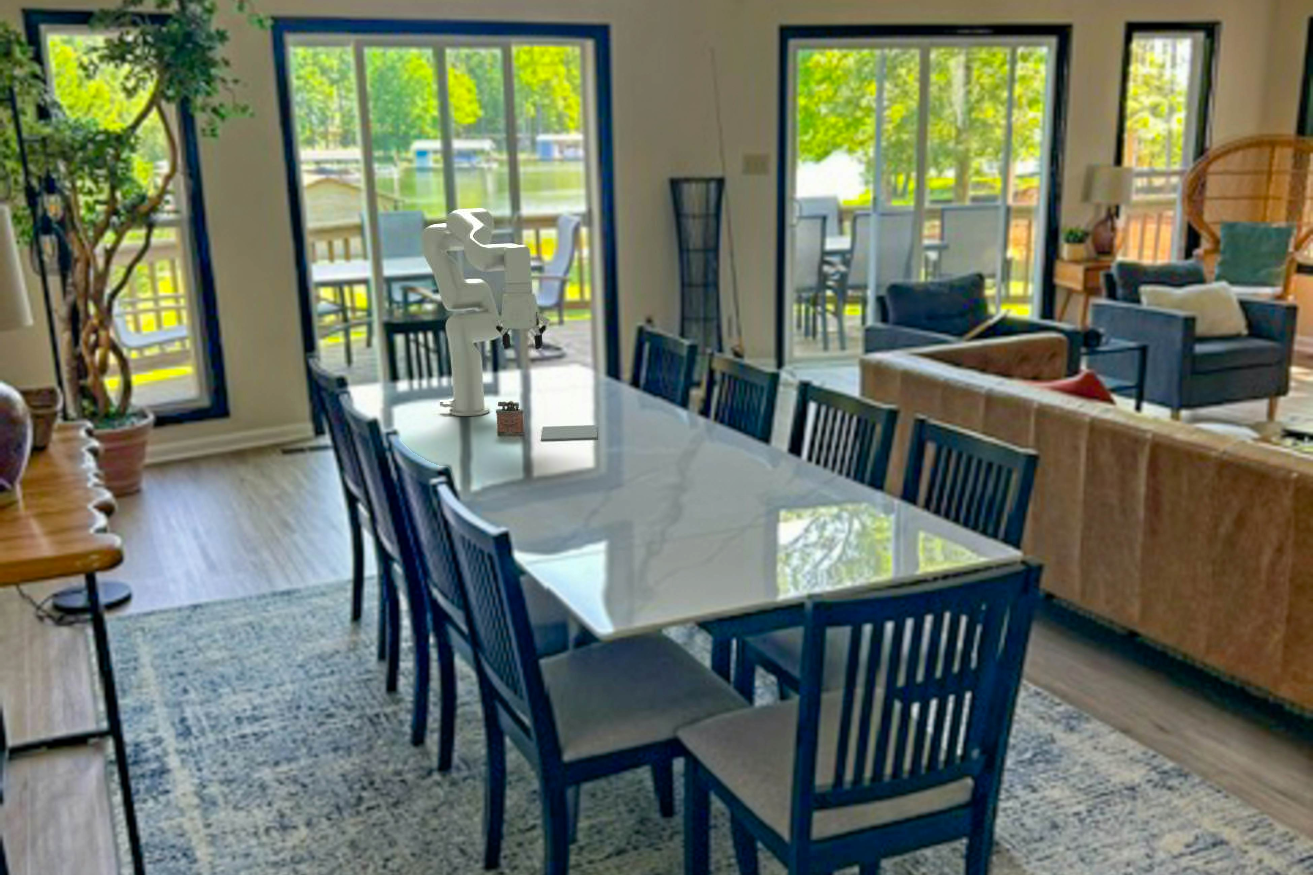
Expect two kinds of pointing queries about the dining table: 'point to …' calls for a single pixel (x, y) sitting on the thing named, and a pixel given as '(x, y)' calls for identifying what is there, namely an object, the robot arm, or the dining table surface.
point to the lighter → (510, 419)
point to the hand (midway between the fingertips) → (522, 348)
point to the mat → (569, 433)
